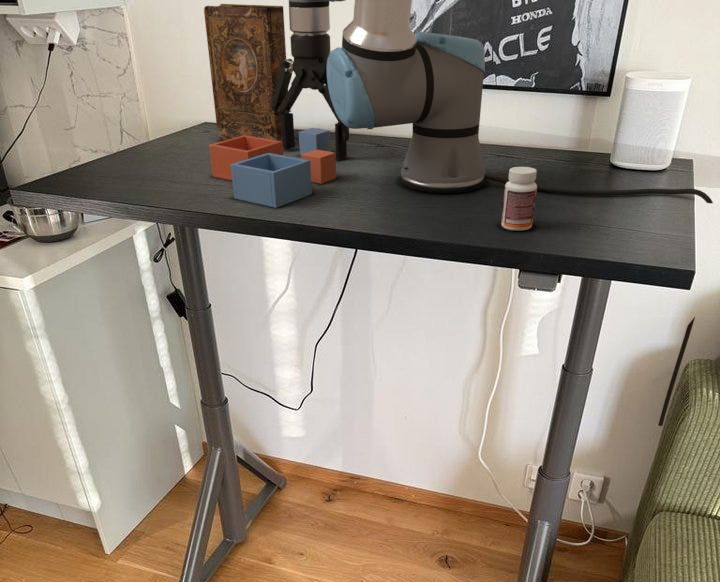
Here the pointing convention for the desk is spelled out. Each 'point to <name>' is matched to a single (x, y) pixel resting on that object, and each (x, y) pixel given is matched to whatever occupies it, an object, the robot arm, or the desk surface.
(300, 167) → the blue bin
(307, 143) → the blue block
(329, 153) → the clay block
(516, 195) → the pill bottle
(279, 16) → the book
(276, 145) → the clay bin
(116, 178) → the desk surface
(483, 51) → the robot arm
